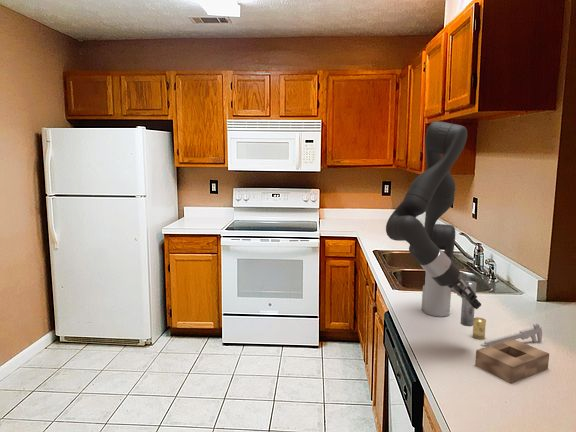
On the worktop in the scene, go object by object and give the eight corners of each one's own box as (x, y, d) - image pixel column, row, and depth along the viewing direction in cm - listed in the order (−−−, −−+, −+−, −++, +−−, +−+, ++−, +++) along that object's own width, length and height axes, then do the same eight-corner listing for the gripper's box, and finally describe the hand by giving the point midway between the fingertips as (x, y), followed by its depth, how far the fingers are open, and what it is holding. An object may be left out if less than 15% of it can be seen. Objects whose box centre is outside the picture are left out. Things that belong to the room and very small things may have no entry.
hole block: (475, 365, 122) (476, 350, 121) (510, 352, 130) (512, 338, 129) (511, 383, 112) (512, 367, 112) (547, 368, 120) (549, 353, 119)
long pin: (457, 322, 131) (460, 281, 129) (465, 320, 133) (469, 279, 131) (467, 327, 128) (471, 285, 126) (475, 325, 130) (479, 283, 128)
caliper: (538, 341, 138) (540, 322, 137) (541, 343, 137) (543, 324, 136) (480, 346, 135) (481, 326, 134) (482, 347, 134) (483, 328, 133)
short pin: (470, 336, 141) (471, 318, 140) (477, 334, 143) (478, 316, 142) (479, 340, 138) (480, 322, 137) (487, 338, 140) (488, 320, 139)
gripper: (461, 263, 119) (498, 303, 123) (436, 251, 133) (470, 287, 137) (442, 283, 119) (479, 322, 123) (419, 268, 133) (453, 304, 137)
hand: (474, 304), depth 130 cm, fingers closed on long pin, 3 cm apart
